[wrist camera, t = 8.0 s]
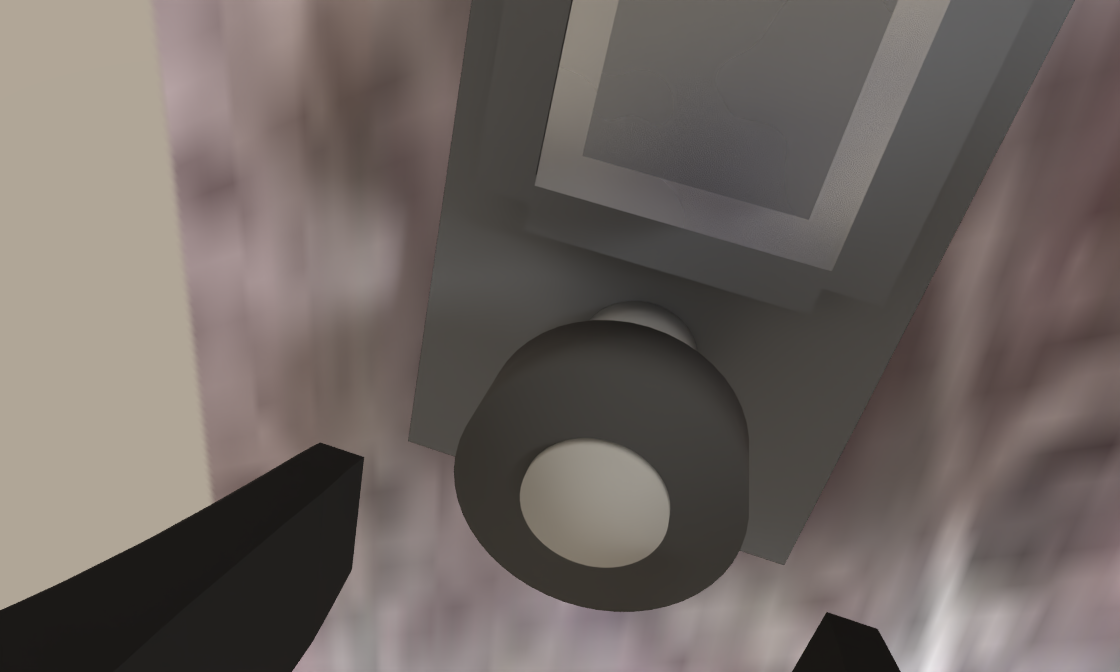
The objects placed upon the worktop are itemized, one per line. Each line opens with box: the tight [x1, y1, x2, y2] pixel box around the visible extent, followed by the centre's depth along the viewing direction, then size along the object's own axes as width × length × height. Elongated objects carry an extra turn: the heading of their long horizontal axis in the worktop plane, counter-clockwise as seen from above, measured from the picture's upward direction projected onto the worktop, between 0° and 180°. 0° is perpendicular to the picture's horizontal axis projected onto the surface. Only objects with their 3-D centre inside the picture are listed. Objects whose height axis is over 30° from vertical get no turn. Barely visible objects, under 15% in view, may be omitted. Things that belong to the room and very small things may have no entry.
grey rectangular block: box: [535, 0, 950, 271], centre depth 9 cm, size 4×4×6 cm
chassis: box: [408, 0, 1075, 565], centre depth 13 cm, size 9×15×2 cm, turn 168°
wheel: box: [454, 320, 749, 612], centre depth 11 cm, size 4×4×2 cm
